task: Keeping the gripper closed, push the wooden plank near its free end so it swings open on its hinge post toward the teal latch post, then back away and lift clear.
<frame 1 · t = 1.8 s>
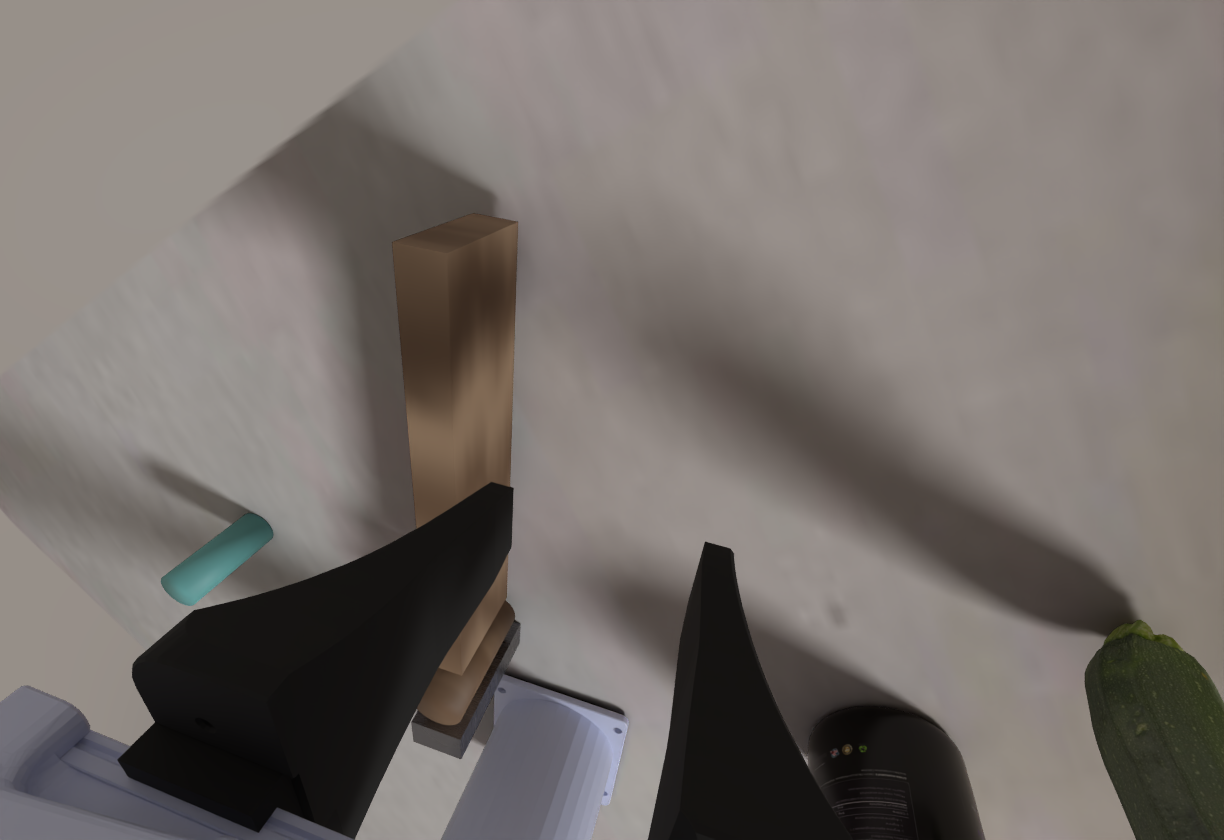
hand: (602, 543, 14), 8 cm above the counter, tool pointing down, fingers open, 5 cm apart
hinge post: (499, 626, 31), on the counter
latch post: (257, 527, 32), on the counter
wooden plank: (463, 505, 22), point 4 cm above the counter, hinge at 0.0°
supplement bottle: (880, 743, 27), on the counter
vegetable: (1101, 618, 21), on the counter
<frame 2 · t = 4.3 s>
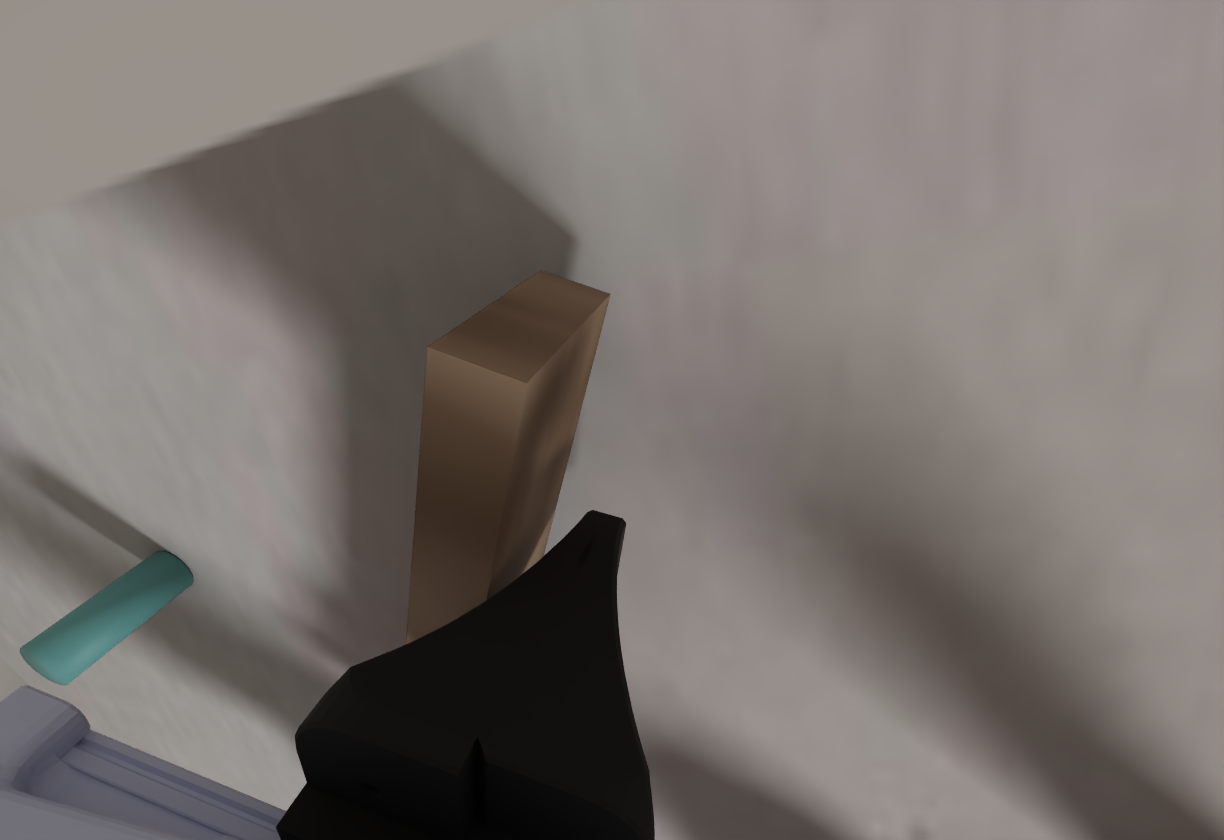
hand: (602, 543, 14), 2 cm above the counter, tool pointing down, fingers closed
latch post: (173, 568, 24), on the counter
wooden plank: (468, 662, 15), point 4 cm above the counter, hinge at 5.3°, touching gripper
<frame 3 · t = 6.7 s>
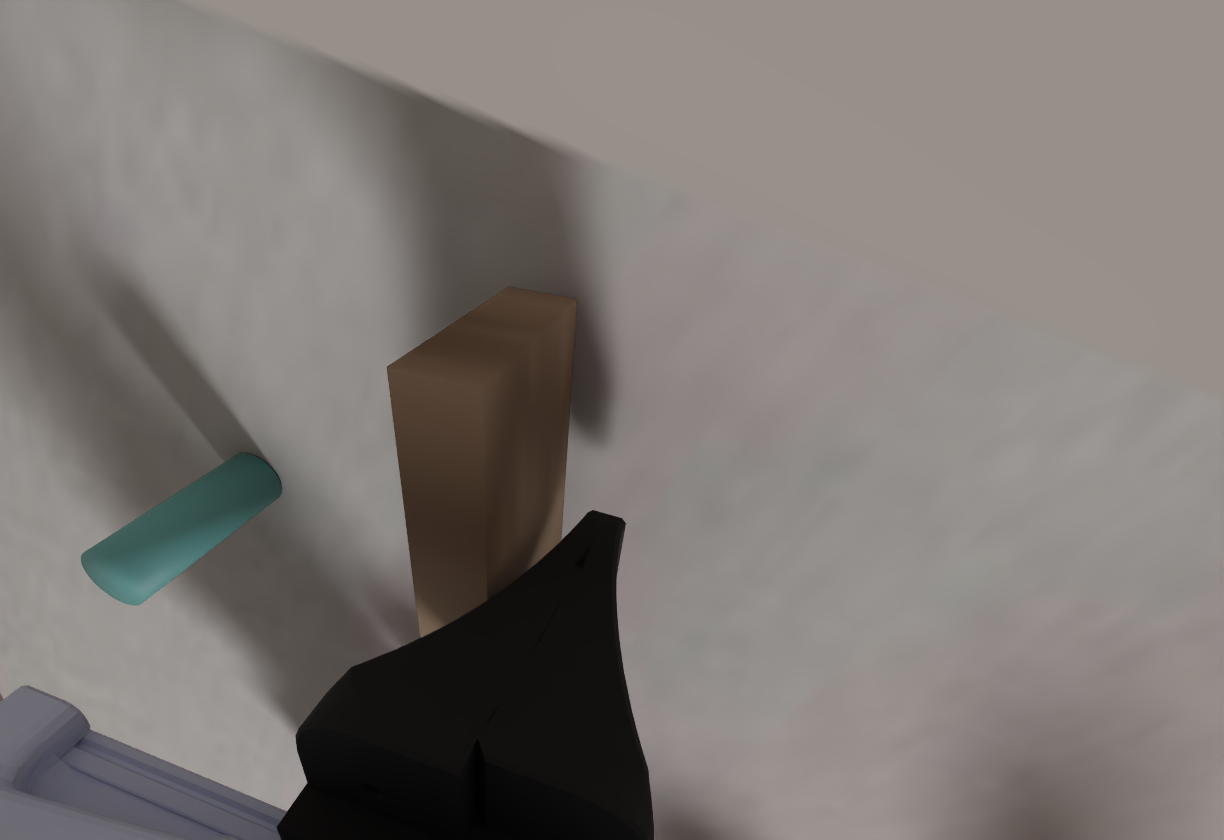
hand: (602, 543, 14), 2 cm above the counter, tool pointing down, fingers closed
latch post: (256, 477, 20), on the counter
wooden plank: (496, 681, 15), point 4 cm above the counter, hinge at 46.1°, touching gripper
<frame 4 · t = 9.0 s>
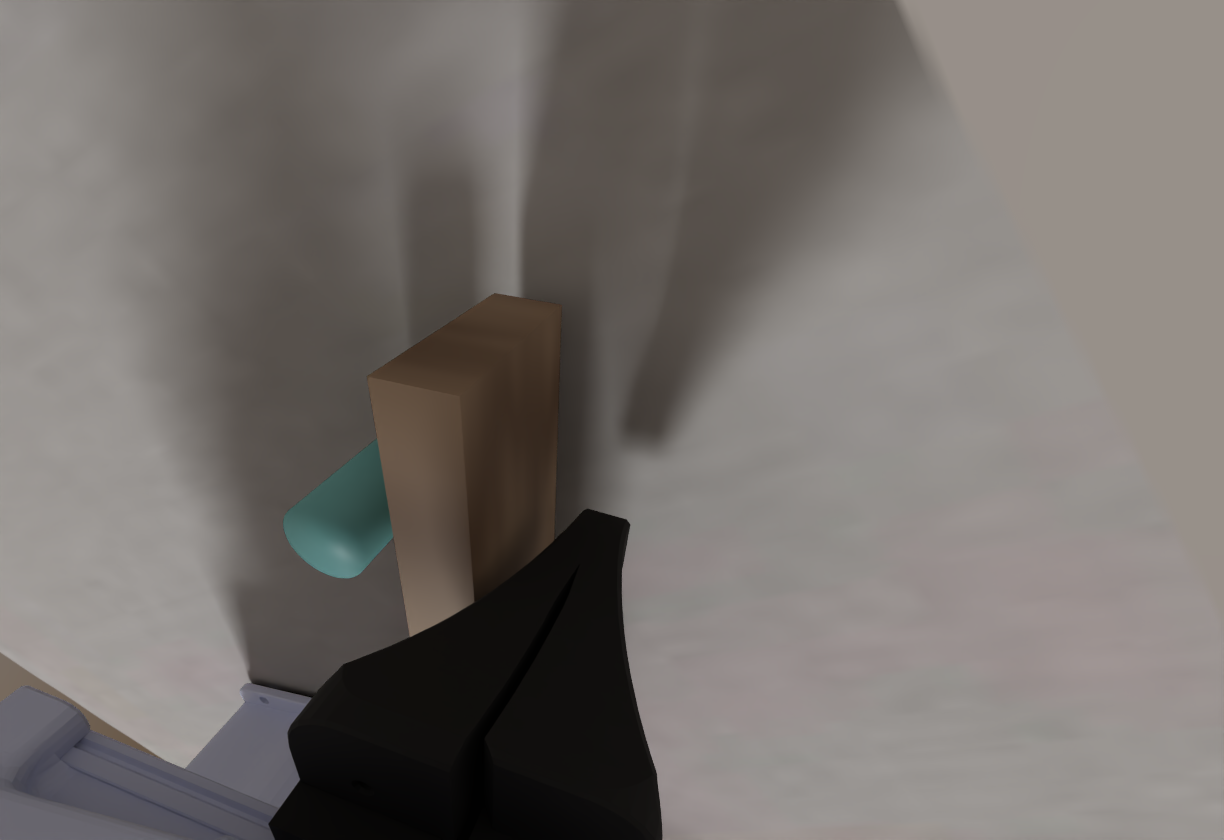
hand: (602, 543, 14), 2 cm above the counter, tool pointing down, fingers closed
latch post: (444, 428, 16), on the counter
wooden plank: (491, 686, 16), point 4 cm above the counter, hinge at 80.4°, touching gripper
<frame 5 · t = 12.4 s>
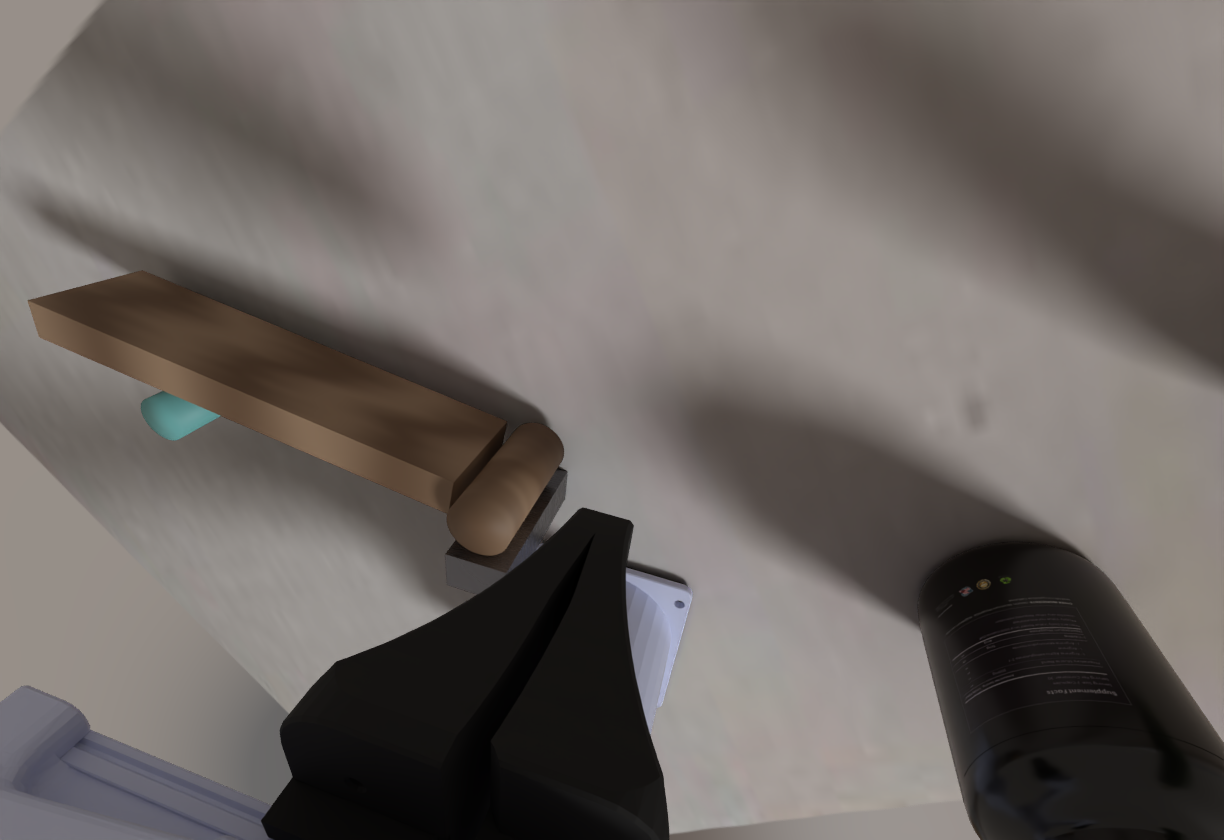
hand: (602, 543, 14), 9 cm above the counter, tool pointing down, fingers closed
hinge post: (541, 478, 26), on the counter
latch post: (257, 371, 28), on the counter
wooden plank: (304, 396, 23), point 4 cm above the counter, hinge at 80.4°
supplement bottle: (1007, 596, 23), on the counter
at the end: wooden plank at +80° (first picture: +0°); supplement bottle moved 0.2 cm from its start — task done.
